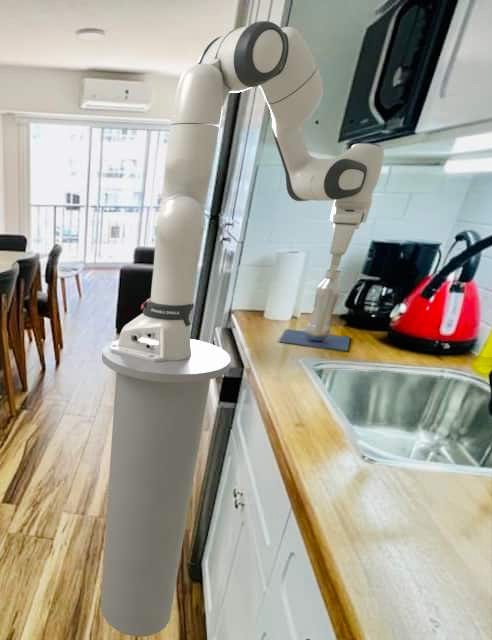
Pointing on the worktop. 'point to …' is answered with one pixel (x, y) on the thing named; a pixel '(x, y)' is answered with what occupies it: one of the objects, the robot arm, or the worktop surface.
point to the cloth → (328, 343)
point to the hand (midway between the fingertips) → (333, 268)
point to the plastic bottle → (324, 307)
